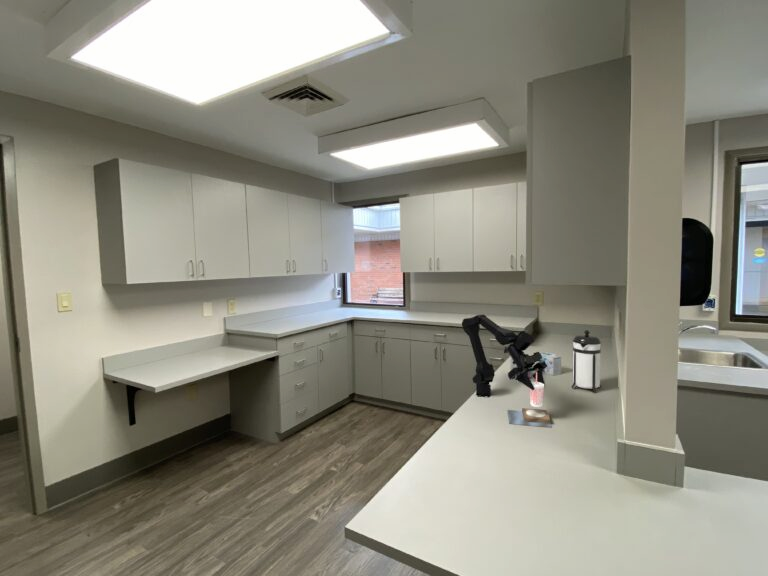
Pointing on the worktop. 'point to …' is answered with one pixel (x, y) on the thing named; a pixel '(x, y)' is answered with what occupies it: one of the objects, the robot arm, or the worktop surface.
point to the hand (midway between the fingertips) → (539, 388)
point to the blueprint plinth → (519, 419)
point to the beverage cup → (536, 394)
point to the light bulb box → (551, 363)
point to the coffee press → (586, 361)
